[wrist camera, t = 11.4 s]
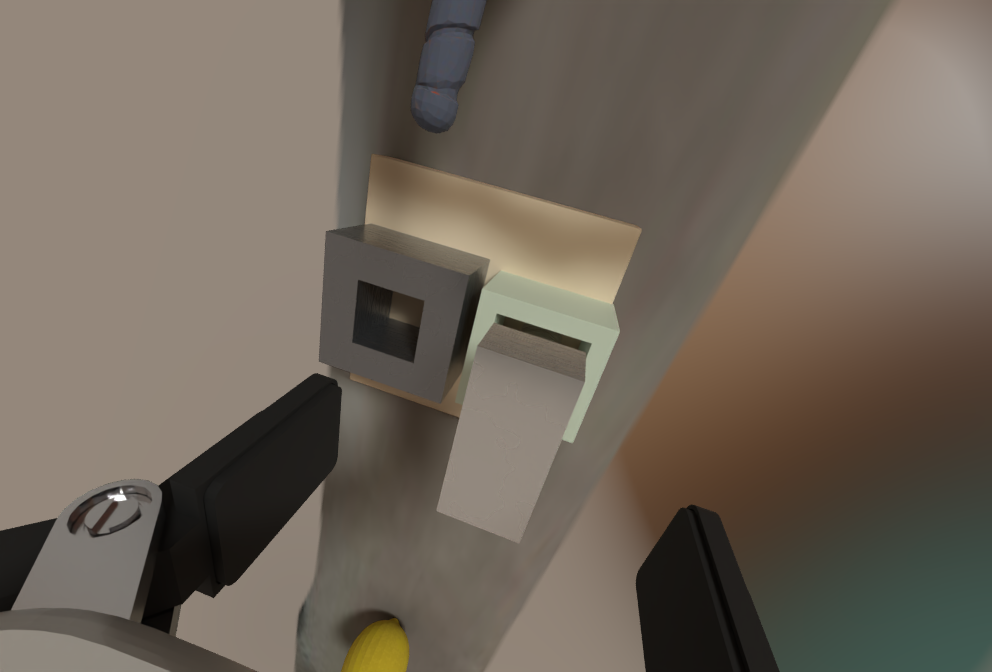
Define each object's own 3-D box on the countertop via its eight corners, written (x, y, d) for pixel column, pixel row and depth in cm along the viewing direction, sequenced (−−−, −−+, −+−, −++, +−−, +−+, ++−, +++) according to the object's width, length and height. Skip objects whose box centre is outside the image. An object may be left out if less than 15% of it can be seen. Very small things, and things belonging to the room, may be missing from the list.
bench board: (389, 156, 21) (371, 153, 19) (636, 225, 20) (642, 229, 18) (365, 366, 27) (349, 378, 25) (555, 431, 25) (553, 450, 24)
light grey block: (529, 271, 20) (477, 346, 11) (588, 289, 19) (585, 381, 10) (497, 380, 23) (436, 511, 14) (548, 397, 22) (519, 543, 13)
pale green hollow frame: (500, 270, 20) (482, 288, 17) (613, 304, 20) (619, 331, 16) (475, 367, 23) (454, 402, 19) (574, 401, 22) (572, 443, 18)
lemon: (432, 626, 37) (394, 735, 29) (401, 644, 39) (359, 748, 32) (389, 592, 36) (340, 693, 29) (361, 611, 38) (308, 710, 31)
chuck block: (371, 223, 21) (326, 231, 17) (490, 259, 20) (469, 275, 16) (359, 334, 24) (318, 361, 20) (463, 369, 23) (440, 403, 19)
